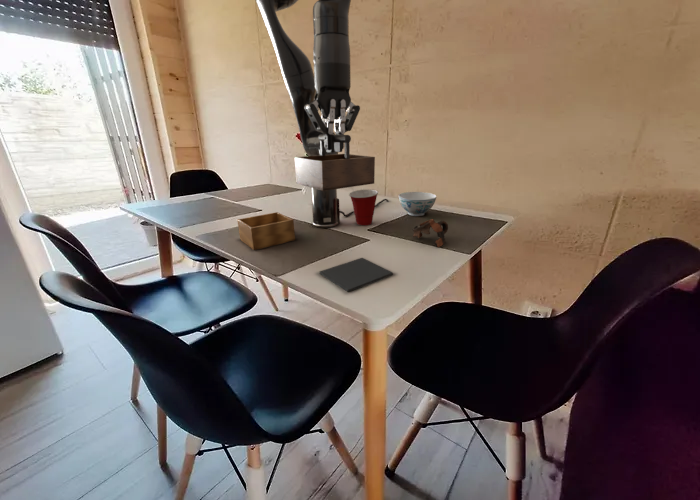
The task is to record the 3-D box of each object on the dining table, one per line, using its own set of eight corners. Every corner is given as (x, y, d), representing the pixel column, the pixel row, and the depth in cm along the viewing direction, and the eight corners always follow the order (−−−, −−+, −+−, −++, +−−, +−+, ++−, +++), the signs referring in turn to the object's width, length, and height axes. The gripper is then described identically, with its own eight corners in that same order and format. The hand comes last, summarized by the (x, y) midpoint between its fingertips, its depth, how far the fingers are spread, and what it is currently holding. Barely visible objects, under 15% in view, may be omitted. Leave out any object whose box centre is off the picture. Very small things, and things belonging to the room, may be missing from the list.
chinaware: (397, 218, 123) (398, 199, 120) (398, 208, 137) (399, 191, 134) (436, 219, 121) (438, 200, 118) (433, 209, 135) (434, 192, 132)
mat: (362, 259, 86) (362, 257, 86) (392, 274, 78) (392, 272, 77) (319, 273, 79) (319, 271, 78) (347, 292, 70) (347, 289, 70)
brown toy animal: (434, 252, 92) (422, 227, 91) (415, 255, 100) (403, 232, 100) (460, 234, 97) (449, 210, 96) (440, 238, 105) (429, 217, 105)
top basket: (344, 177, 81) (343, 133, 77) (374, 183, 72) (375, 134, 68) (296, 183, 74) (292, 134, 70) (322, 191, 65) (320, 135, 61)
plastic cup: (344, 221, 121) (344, 190, 116) (369, 217, 125) (370, 187, 120) (356, 229, 111) (356, 196, 107) (383, 225, 115) (383, 193, 111)
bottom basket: (279, 231, 111) (277, 212, 108) (295, 240, 102) (293, 219, 99) (240, 239, 103) (237, 219, 100) (253, 250, 94) (250, 228, 91)
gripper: (312, 57, 57) (316, 155, 64) (369, 64, 65) (368, 151, 71) (293, 63, 63) (299, 152, 69) (348, 69, 70) (349, 149, 77)
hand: (334, 151), depth 70 cm, fingers closed on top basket
